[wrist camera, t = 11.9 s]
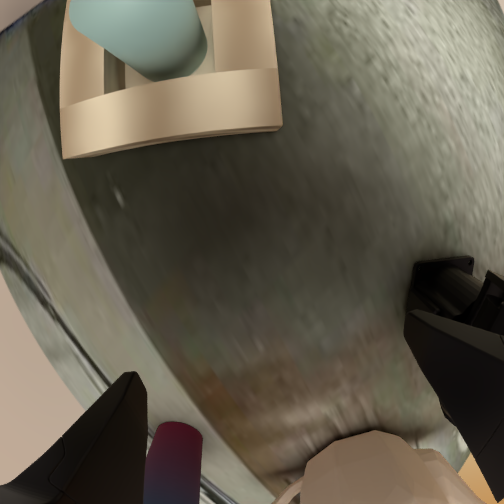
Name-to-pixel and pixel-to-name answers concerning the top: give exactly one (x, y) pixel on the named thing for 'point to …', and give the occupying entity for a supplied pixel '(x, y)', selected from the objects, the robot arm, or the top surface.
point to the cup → (173, 465)
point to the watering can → (378, 475)
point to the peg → (145, 34)
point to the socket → (172, 87)
